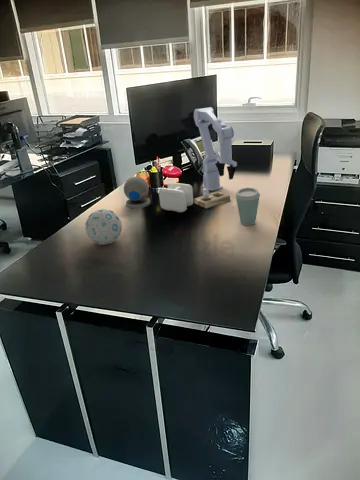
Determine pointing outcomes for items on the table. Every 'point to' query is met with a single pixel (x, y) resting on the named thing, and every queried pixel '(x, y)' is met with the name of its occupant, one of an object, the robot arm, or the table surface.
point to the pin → (205, 194)
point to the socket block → (212, 199)
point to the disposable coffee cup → (247, 205)
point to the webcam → (136, 192)
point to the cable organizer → (176, 197)
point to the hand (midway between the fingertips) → (226, 177)
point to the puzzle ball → (103, 226)
